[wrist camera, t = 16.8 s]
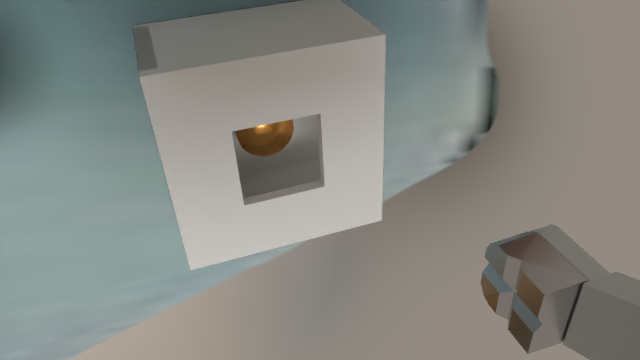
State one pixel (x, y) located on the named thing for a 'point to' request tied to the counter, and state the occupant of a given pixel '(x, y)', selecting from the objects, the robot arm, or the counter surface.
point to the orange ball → (266, 138)
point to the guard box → (261, 109)
